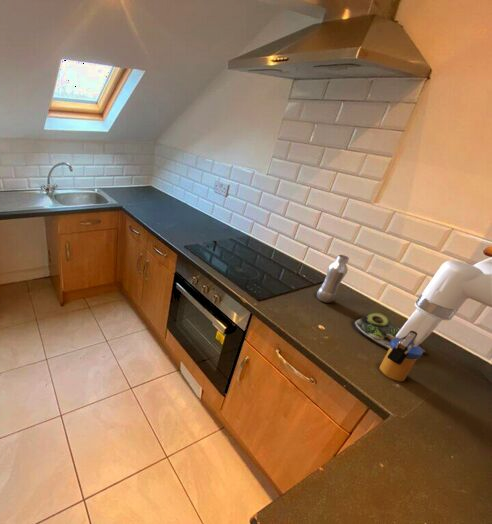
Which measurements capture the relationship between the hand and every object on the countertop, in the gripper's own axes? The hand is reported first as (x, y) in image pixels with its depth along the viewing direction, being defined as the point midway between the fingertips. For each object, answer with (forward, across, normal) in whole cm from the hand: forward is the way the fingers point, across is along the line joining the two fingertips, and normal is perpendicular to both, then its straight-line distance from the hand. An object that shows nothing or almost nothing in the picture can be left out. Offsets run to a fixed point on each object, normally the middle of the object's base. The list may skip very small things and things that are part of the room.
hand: (398, 355), depth 86 cm
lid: (-4, 0, 0) cm, 4 cm away
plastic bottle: (+8, -22, -30) cm, 39 cm away
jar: (+7, 0, +1) cm, 7 cm away
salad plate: (+7, -20, -8) cm, 23 cm away
